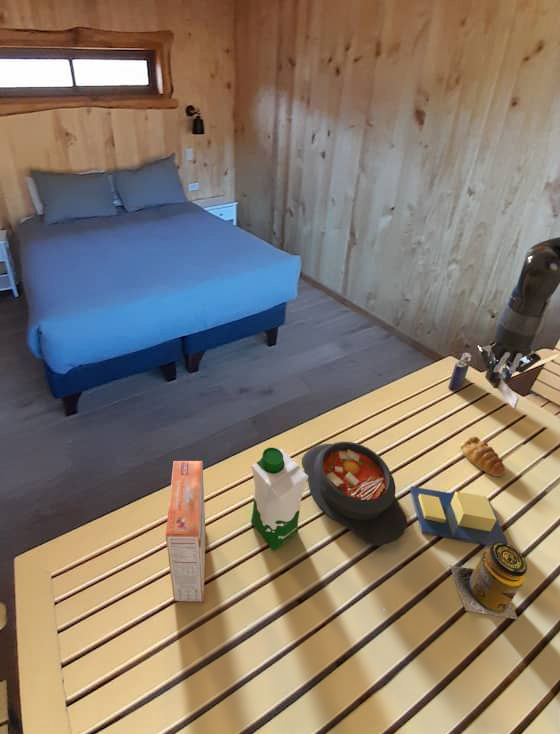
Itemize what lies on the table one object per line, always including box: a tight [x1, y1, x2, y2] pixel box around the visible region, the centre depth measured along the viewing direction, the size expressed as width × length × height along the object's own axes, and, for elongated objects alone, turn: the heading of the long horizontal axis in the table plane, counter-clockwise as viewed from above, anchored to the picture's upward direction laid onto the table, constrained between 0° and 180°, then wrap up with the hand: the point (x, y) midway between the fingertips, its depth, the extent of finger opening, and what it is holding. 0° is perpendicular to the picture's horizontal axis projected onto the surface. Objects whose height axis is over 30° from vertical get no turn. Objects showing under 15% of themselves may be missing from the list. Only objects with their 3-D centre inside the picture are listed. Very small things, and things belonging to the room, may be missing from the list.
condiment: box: [449, 541, 528, 620], centre depth 71 cm, size 7×8×12 cm
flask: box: [447, 352, 473, 392], centre depth 120 cm, size 9×3×11 cm, turn 133°
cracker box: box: [165, 460, 206, 603], centre depth 75 cm, size 14×6×21 cm, turn 178°
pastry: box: [459, 435, 506, 477], centre depth 97 cm, size 9×7×4 cm
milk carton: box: [250, 447, 308, 552], centre depth 80 cm, size 9×9×20 cm
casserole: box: [301, 441, 409, 546], centre depth 89 cm, size 25×19×8 cm
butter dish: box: [409, 486, 509, 547], centre depth 85 cm, size 16×10×5 cm, turn 78°
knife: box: [484, 368, 519, 410], centre depth 99 cm, size 13×2×3 cm, turn 168°
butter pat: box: [418, 494, 446, 523], centre depth 86 cm, size 1×5×4 cm
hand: (496, 381), depth 102 cm, fingers closed on knife, 2 cm apart
